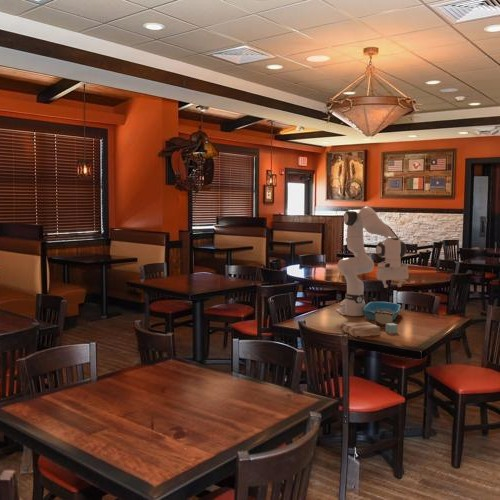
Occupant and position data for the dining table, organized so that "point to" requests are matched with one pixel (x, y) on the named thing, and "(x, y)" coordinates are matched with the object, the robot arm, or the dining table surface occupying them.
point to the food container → (383, 317)
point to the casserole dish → (374, 306)
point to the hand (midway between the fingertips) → (392, 287)
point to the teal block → (391, 328)
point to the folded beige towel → (360, 328)
